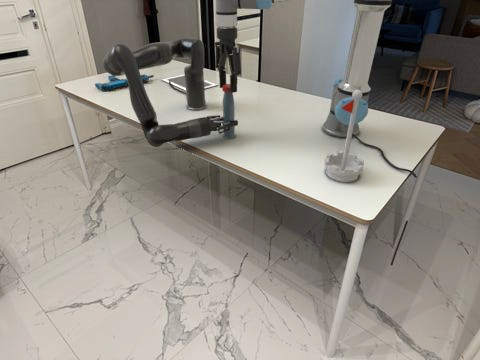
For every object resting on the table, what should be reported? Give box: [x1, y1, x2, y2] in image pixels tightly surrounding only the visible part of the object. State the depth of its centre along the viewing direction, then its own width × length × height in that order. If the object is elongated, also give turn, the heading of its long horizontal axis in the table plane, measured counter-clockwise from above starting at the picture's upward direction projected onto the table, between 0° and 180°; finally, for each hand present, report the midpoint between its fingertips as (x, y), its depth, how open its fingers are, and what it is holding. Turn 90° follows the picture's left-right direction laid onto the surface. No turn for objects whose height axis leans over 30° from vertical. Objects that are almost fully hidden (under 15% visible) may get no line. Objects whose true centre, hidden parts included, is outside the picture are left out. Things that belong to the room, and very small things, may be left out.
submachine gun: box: [94, 74, 155, 91], centre depth 208 cm, size 34×4×25 cm
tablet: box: [161, 74, 219, 92], centre depth 208 cm, size 32×20×1 cm, turn 41°
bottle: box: [222, 91, 236, 139], centre depth 140 cm, size 5×5×21 cm
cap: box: [221, 83, 230, 93], centre depth 134 cm, size 5×5×2 cm
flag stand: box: [323, 90, 365, 183], centre depth 111 cm, size 13×13×30 cm
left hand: (234, 120), depth 143 cm, fingers closed on bottle, 4 cm apart
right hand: (228, 89), depth 134 cm, fingers open, 7 cm apart
